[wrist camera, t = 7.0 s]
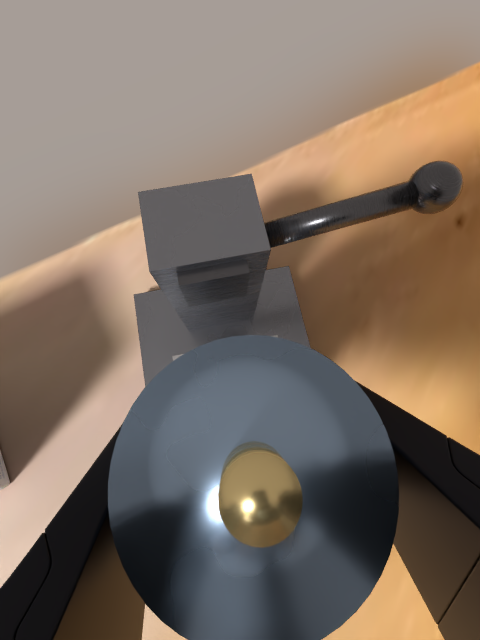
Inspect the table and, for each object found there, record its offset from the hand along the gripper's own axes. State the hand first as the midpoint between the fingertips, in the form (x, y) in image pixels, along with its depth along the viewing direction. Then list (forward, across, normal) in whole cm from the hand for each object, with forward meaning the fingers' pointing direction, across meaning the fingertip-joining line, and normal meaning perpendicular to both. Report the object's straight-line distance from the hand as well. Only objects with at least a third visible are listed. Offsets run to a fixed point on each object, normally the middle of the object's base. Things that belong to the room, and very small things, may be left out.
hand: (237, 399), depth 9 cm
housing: (+4, 0, +6) cm, 7 cm away
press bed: (+8, -2, +6) cm, 10 cm away
